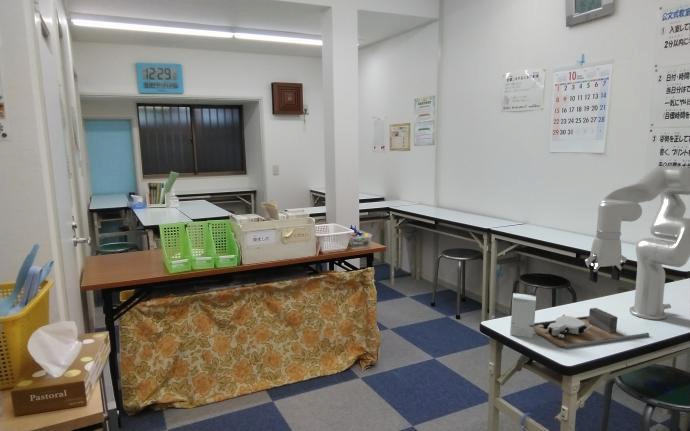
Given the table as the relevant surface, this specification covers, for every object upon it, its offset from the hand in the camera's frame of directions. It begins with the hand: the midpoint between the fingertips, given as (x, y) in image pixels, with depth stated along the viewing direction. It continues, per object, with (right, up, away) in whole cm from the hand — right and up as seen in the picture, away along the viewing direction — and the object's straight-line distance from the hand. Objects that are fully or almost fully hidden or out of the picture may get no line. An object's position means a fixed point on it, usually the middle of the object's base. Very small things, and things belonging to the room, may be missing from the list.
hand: (604, 280), depth 166 cm
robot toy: (-16, -20, -1) cm, 25 cm away
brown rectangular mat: (-11, -20, 0) cm, 22 cm away
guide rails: (-6, -20, +1) cm, 20 cm away
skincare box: (-31, -20, +1) cm, 37 cm away
